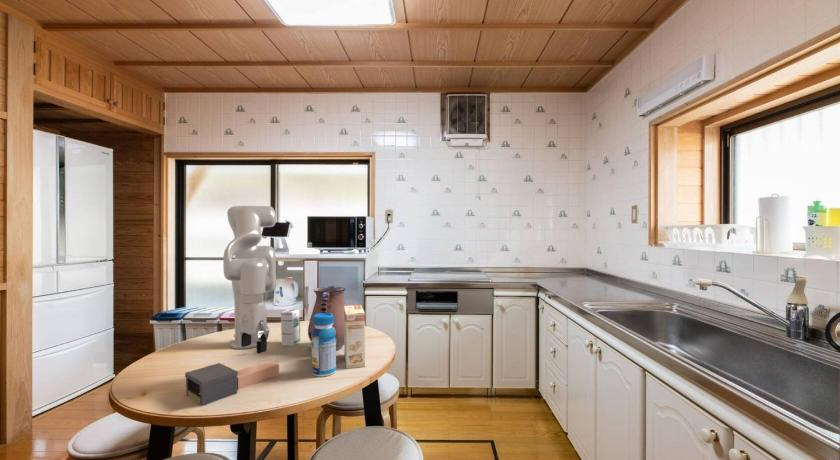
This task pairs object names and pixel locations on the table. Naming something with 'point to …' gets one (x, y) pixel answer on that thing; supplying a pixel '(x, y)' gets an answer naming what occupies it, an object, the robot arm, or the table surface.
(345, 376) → the table surface
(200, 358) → the table surface
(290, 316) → the syrup box
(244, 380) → the terracotta slab
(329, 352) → the beverage bottle
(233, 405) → the table surface
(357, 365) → the coffeecake box
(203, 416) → the table surface
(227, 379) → the grey open-ended tunnel
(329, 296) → the ceramic pitcher
